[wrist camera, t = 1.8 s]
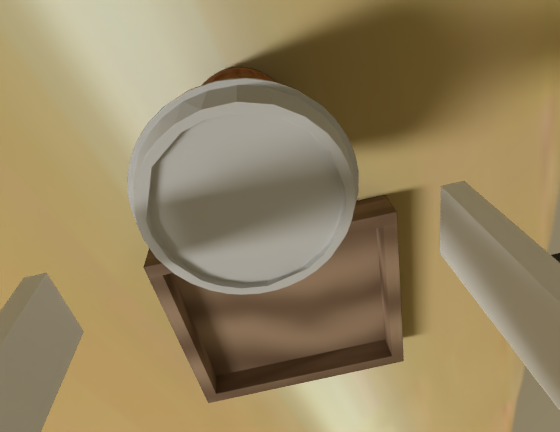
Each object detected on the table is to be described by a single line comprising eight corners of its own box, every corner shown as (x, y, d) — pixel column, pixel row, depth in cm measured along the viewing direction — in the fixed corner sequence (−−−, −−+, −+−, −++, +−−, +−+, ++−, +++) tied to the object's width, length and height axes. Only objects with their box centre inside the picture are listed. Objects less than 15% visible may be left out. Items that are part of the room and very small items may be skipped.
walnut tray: (149, 246, 30) (143, 267, 28) (384, 195, 30) (396, 211, 28) (209, 379, 39) (208, 403, 36) (393, 339, 38) (403, 361, 36)
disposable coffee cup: (233, -1, 23) (234, 20, 12) (343, 113, 27) (414, 201, 16) (134, 122, 25) (68, 222, 15) (247, 208, 29) (255, 333, 19)
